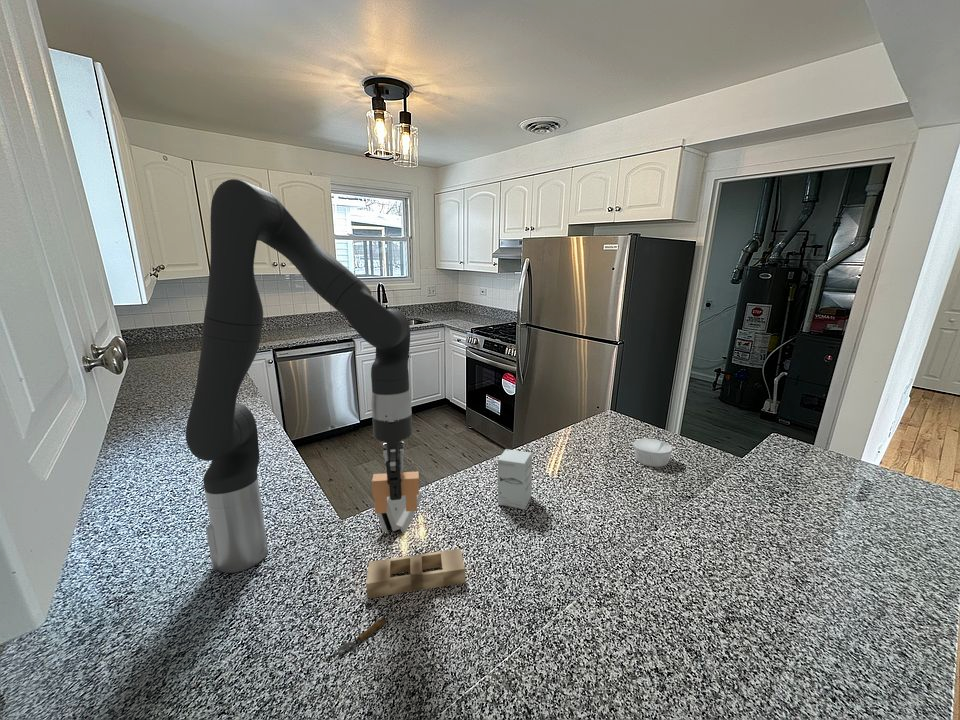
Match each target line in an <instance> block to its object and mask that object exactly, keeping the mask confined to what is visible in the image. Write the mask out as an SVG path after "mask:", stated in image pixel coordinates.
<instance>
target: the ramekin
mask: <svg viewBox="0 0 960 720" xmlns="http://www.w3.org/2000/svg"><path fill="white" fill-rule="evenodd" d="M632 446H633V450H634V457H635V459H636V461H637V462H638V463H639V464H641V465H644V466H647V467H651V468H660V467H664V466H667V465H668V464H669V462H670V458H671V454H672V453H673V447H672V445H670V444H669V443H667V442H665V441H663V440H658V439H653V438H641V439H640V438H639V439H636V440H635V441H633V443H632Z"/></svg>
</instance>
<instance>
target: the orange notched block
mask: <svg viewBox="0 0 960 720" xmlns="http://www.w3.org/2000/svg"><path fill="white" fill-rule="evenodd" d="M419 476H420V475H419V470H417V471H406V472H405V471H404V472H403V471H402V472H401V478H402V482H401V493H402V496H405V495H406V511H416V512H418V508H417V495H419V491H420V477H419ZM371 480H372V481H371V484H372V486H371V487H372V488H371V489H372V490H371V491H372V492H371V493H372V495H371V496H372V498H373V499H374V504H375V507H374V514H375V515H377V514H380V513H387V497H390V486H389V485H388V483H387V472H385V473H373V475H372V479H371Z"/></svg>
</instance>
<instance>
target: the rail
mask: <svg viewBox="0 0 960 720" xmlns="http://www.w3.org/2000/svg"><path fill="white" fill-rule="evenodd" d="M436 568H441V569H436ZM429 569H436V570H431V571H425V570H429ZM465 569H466V567H465V563H464V558H463V553H462V549H461V548H456V549H447V550H441V551H433V552H428V553H427V552H426V553H420V554H414V555H413V554H412V555H406V556H405V555H404V556H398V557H392V558H385V559H379V560H371V561H368V566H367V575H366V581H365V587H366V597H367V599H372V598H378V597H383V596H384V597H385V596H391V595H397V594H402V593H403V594H405V593H409V592H416V591H417V592H418V591H422V590H429V589H435V588H442V587H448V586H454V585H460V584H465V583H466V570H465ZM423 571H424V572H423ZM402 572H404V573H410V574H405V575H404V574H403V573H402ZM397 573H398V574H403V575H398V574H397ZM391 574H392V575H398V576H392V575H391Z"/></svg>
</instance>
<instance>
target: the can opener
mask: <svg viewBox="0 0 960 720" xmlns="http://www.w3.org/2000/svg"><path fill="white" fill-rule="evenodd" d="M386 623H387V619H386V617H385V616H383V617H381V618H380V619H378V620H377V621H376V622H374V623H373V624H371V626H370V627H368V628H367V629H366V630H365V631H363V632H362V633H360V634H359V635H358V636H356V638H355V639H354V641H347V642H346V643H344V644H343V645H341V646H340V647H339V648H338V649H337V650H336V651H335V653H334V655H333V657H335V656H336V655H337V654H338V656H339V657H340V658H342V656H341V654H342V653H343V652H345V654H347V653H348V651H349V652H353V651H355V650H356V648H357V647H358V646H357V645H359V644H361V643H362V642H363V641H365V640H366V639H367V638H369V637H370V636H371V635H372V634H373V635H374V633H376V632H377V631H378V630H379V629H381V628H382V627H383V626H384V625H386ZM337 651H338V652H337Z"/></svg>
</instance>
